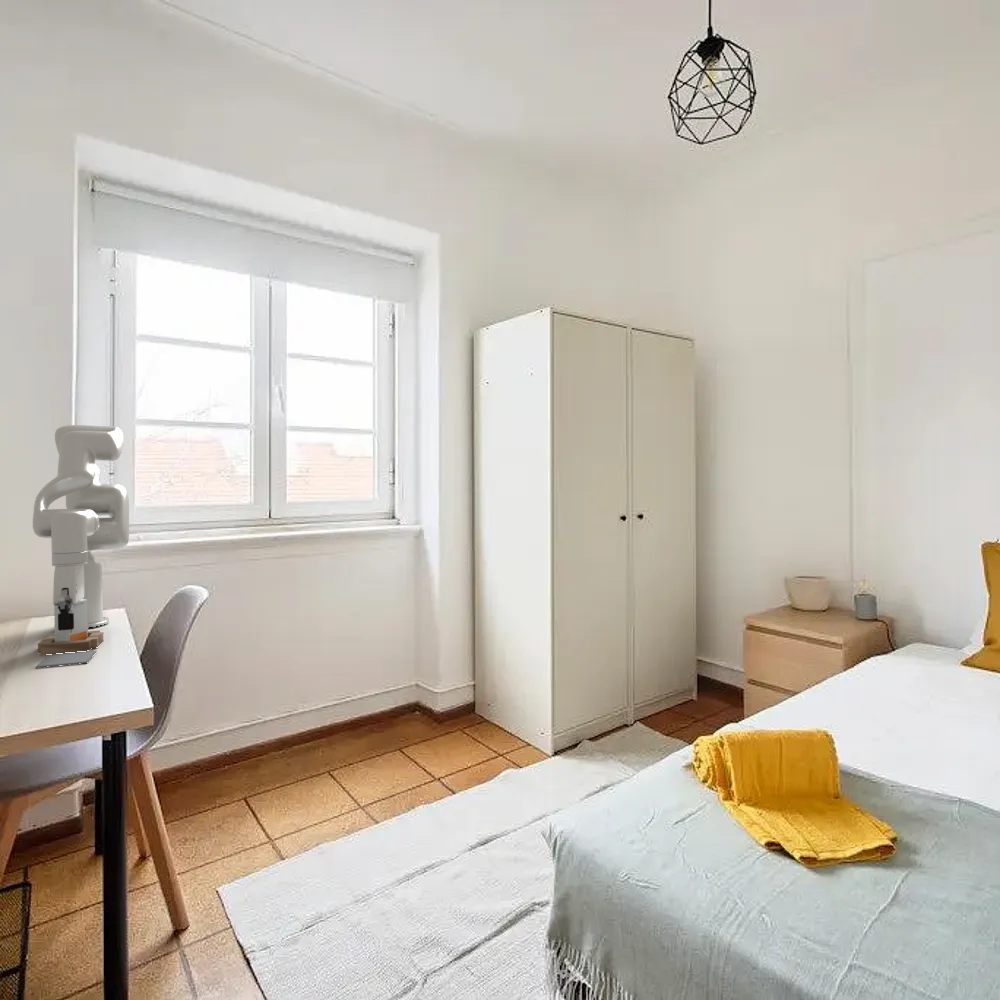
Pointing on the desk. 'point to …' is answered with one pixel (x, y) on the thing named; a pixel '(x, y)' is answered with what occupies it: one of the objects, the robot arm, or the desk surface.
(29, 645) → the desk surface
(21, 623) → the desk surface
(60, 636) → the skincare box
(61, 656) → the grey rubber mat
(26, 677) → the desk surface
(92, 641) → the box
